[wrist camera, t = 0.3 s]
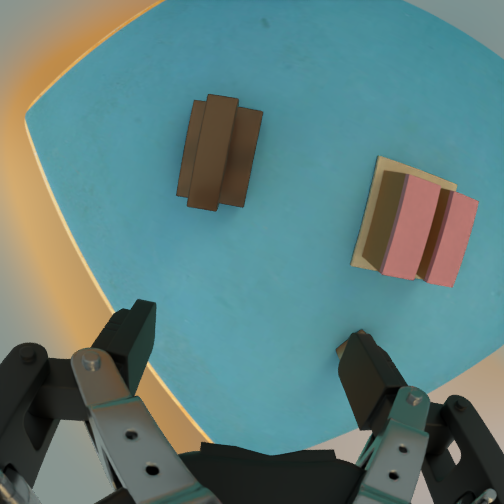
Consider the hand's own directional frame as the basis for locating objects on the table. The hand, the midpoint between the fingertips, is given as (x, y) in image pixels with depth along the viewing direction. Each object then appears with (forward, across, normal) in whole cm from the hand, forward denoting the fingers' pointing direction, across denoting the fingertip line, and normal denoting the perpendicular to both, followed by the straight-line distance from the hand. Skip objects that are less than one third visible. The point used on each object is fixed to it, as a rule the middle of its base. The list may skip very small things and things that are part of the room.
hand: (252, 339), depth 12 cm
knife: (+25, +4, -6) cm, 26 cm away
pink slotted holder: (+25, -20, -3) cm, 32 cm away
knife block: (+25, +4, -6) cm, 26 cm away
